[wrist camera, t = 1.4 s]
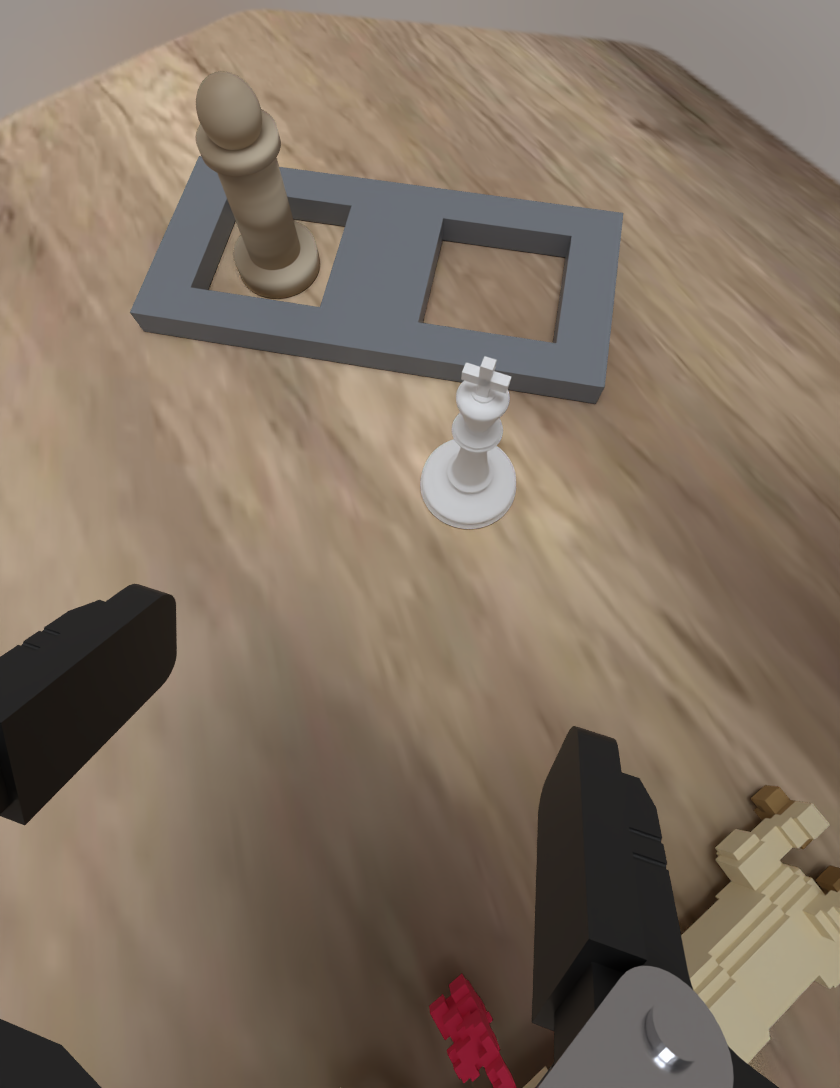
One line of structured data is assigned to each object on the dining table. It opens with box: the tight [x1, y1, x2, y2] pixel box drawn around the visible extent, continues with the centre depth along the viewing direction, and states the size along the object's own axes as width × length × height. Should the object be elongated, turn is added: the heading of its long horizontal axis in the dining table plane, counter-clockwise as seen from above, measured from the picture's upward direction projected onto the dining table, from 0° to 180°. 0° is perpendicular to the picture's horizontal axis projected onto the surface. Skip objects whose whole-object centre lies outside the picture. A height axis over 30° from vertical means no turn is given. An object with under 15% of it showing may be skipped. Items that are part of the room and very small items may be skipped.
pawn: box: [196, 71, 320, 298], centre depth 27 cm, size 5×5×10 cm
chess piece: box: [420, 356, 516, 529], centre depth 23 cm, size 5×5×10 cm
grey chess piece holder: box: [130, 156, 623, 404], centre depth 31 cm, size 26×12×2 cm, turn 79°
